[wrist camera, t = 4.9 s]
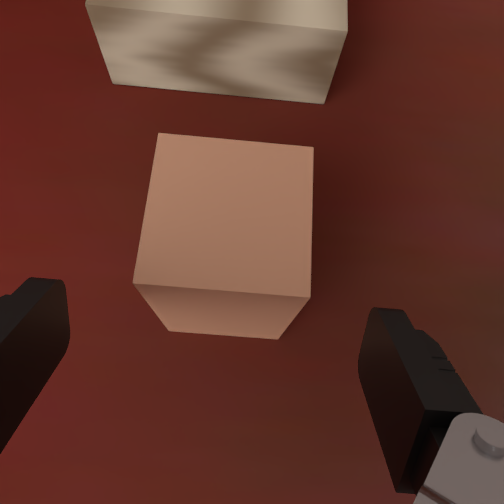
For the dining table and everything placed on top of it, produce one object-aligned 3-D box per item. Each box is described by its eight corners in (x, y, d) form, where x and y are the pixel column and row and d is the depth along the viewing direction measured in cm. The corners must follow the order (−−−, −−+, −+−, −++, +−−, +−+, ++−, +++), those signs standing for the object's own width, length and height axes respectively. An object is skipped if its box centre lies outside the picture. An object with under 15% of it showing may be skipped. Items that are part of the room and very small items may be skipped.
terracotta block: (168, 331, 19) (132, 283, 12) (182, 230, 21) (158, 132, 13) (277, 339, 19) (310, 297, 12) (282, 239, 21) (313, 146, 14)
